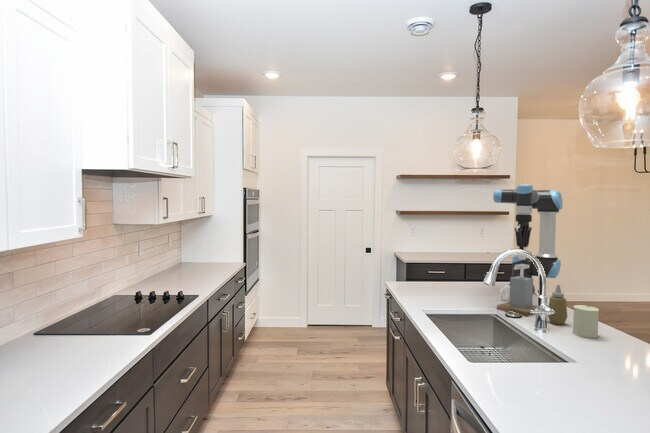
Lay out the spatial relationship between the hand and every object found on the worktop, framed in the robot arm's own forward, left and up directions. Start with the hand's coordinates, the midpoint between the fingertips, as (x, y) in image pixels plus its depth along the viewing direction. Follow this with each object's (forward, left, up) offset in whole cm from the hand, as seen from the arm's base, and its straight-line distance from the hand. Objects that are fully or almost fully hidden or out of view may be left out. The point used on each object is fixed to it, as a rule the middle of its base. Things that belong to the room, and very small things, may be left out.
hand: (522, 259), depth 200 cm
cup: (-14, -15, -27) cm, 34 cm away
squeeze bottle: (+7, +21, -27) cm, 35 cm away
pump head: (+2, 0, -13) cm, 13 cm away
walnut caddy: (0, 0, -27) cm, 27 cm away
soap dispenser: (0, 0, -25) cm, 25 cm away
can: (+13, +35, -27) cm, 46 cm away
